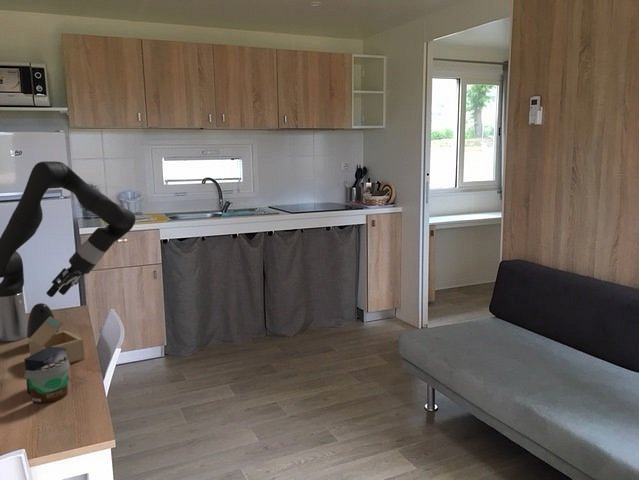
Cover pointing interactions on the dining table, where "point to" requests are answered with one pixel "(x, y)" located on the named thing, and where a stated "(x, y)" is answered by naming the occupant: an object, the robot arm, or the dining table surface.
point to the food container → (48, 382)
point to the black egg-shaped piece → (38, 318)
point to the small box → (44, 359)
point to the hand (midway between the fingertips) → (55, 294)
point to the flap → (46, 331)
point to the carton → (63, 345)
